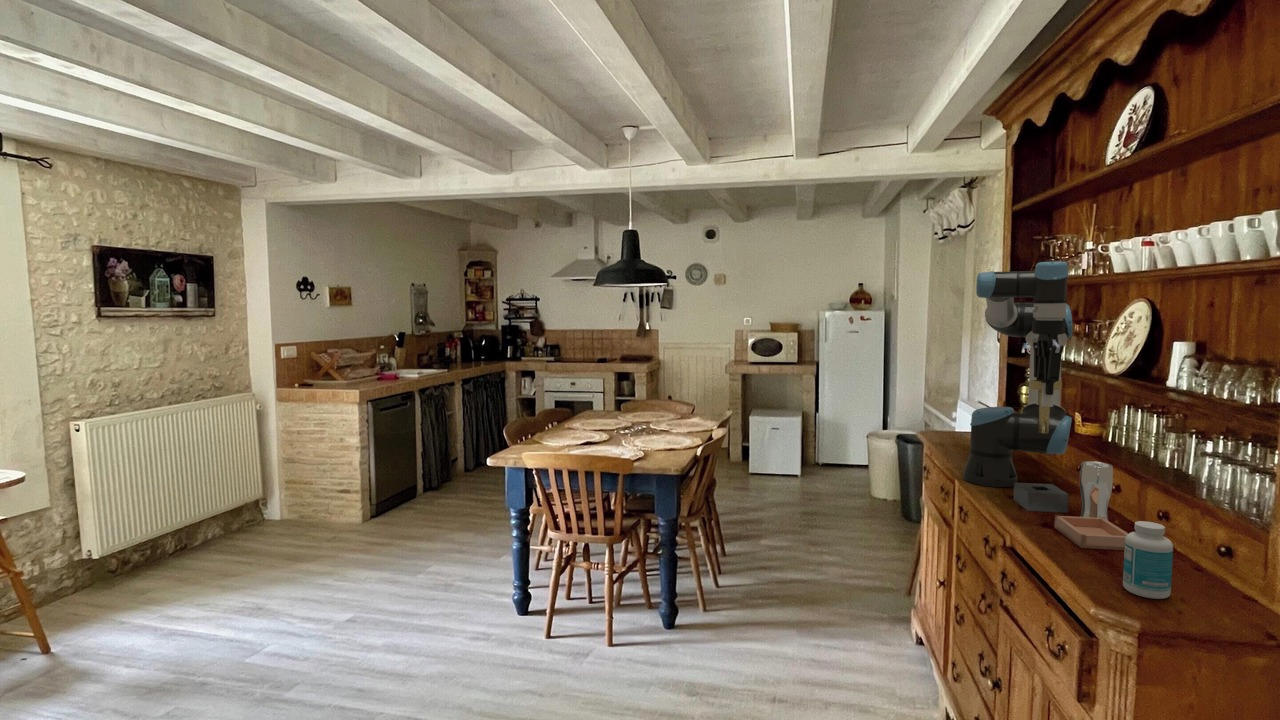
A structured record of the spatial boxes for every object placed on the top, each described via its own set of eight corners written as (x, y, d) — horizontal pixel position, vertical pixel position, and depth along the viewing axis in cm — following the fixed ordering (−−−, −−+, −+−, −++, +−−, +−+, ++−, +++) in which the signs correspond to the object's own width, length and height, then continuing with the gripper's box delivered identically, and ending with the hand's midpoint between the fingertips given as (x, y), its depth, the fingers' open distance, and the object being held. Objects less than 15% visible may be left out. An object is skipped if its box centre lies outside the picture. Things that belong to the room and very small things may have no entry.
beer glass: (1115, 526, 165) (1119, 468, 164) (1084, 525, 166) (1088, 467, 165) (1102, 517, 172) (1105, 461, 171) (1072, 516, 173) (1075, 460, 172)
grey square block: (1013, 499, 188) (1014, 482, 187) (1051, 501, 186) (1052, 484, 186) (1027, 510, 178) (1028, 492, 177) (1067, 512, 176) (1068, 494, 176)
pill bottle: (1179, 597, 126) (1184, 528, 125) (1153, 603, 124) (1158, 533, 122) (1138, 581, 133) (1142, 516, 132) (1113, 587, 131) (1117, 521, 129)
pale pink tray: (1054, 527, 165) (1054, 515, 165) (1103, 529, 163) (1103, 518, 163) (1081, 547, 151) (1081, 535, 151) (1134, 550, 149) (1135, 538, 149)
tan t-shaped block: (1055, 432, 181) (1058, 380, 180) (1059, 433, 179) (1061, 381, 177) (1027, 431, 182) (1030, 379, 181) (1031, 433, 180) (1033, 380, 179)
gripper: (1022, 318, 186) (1018, 400, 188) (1045, 320, 171) (1041, 410, 173) (1051, 318, 184) (1047, 401, 187) (1077, 320, 169) (1072, 410, 171)
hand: (1044, 405), depth 180 cm, fingers closed on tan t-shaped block, 2 cm apart
